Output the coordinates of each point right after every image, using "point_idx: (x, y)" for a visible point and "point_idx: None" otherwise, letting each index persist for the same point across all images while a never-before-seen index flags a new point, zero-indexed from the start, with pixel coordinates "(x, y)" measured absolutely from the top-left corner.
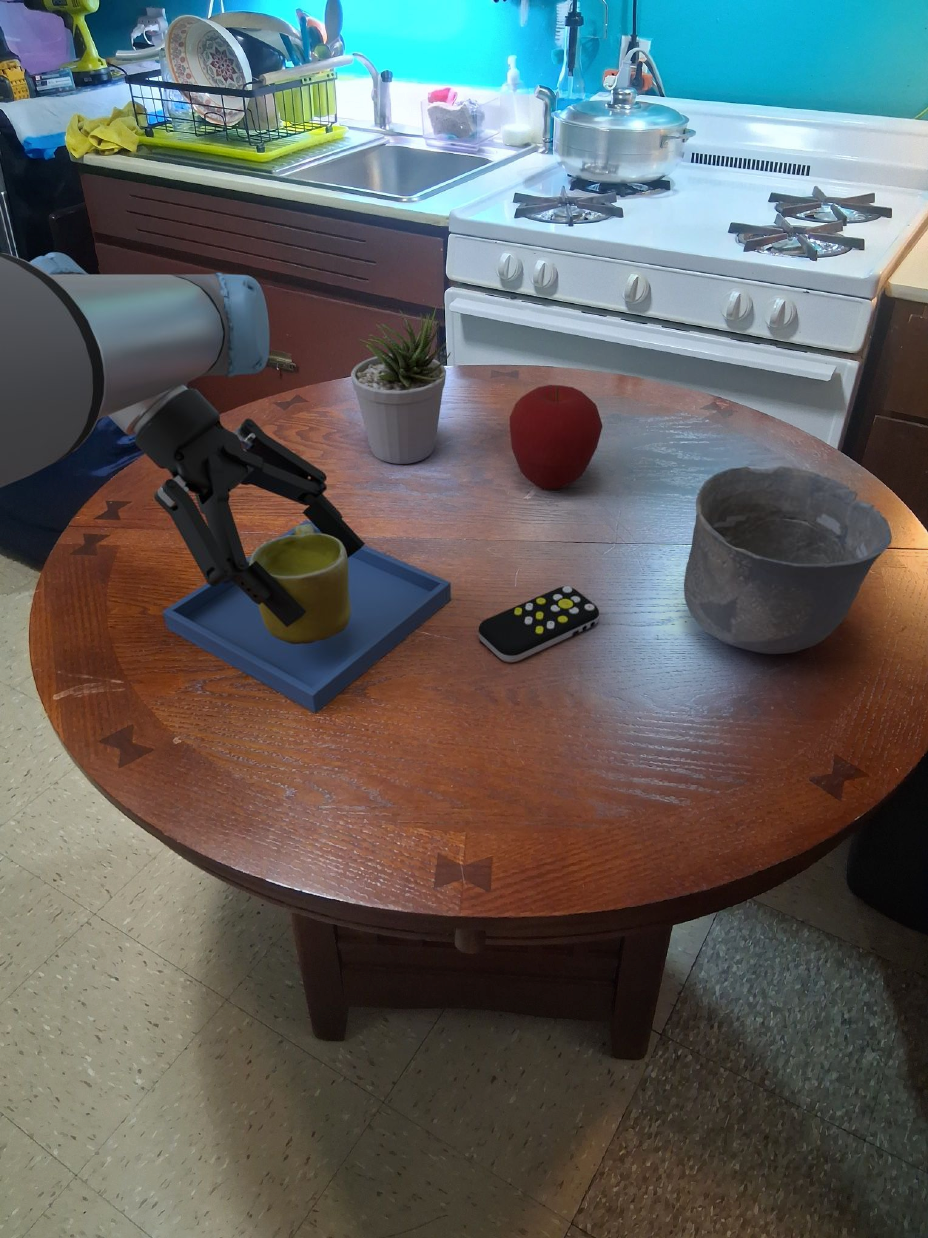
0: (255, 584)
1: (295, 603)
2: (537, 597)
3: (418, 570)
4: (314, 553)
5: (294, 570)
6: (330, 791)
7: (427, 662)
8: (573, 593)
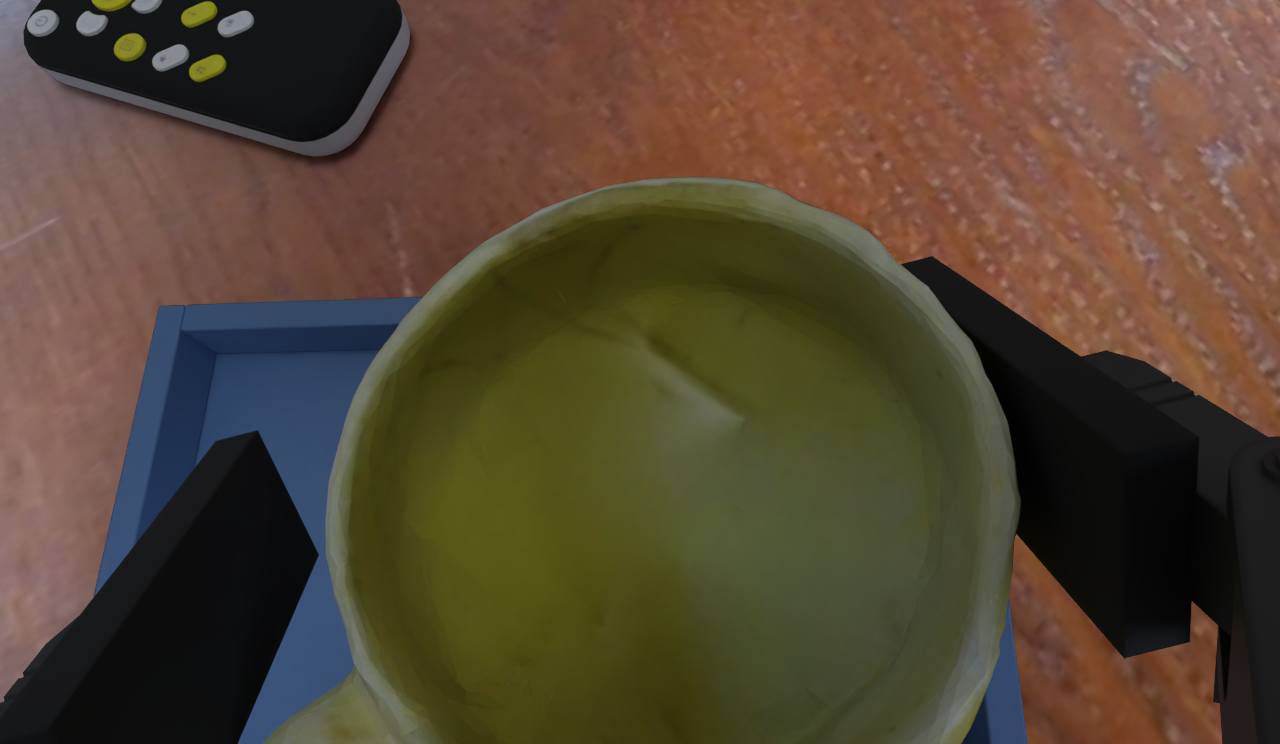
0: (1172, 403)
1: (934, 285)
2: (114, 67)
3: (136, 453)
4: (449, 611)
5: (648, 603)
6: (1125, 81)
7: (529, 204)
8: (53, 4)
